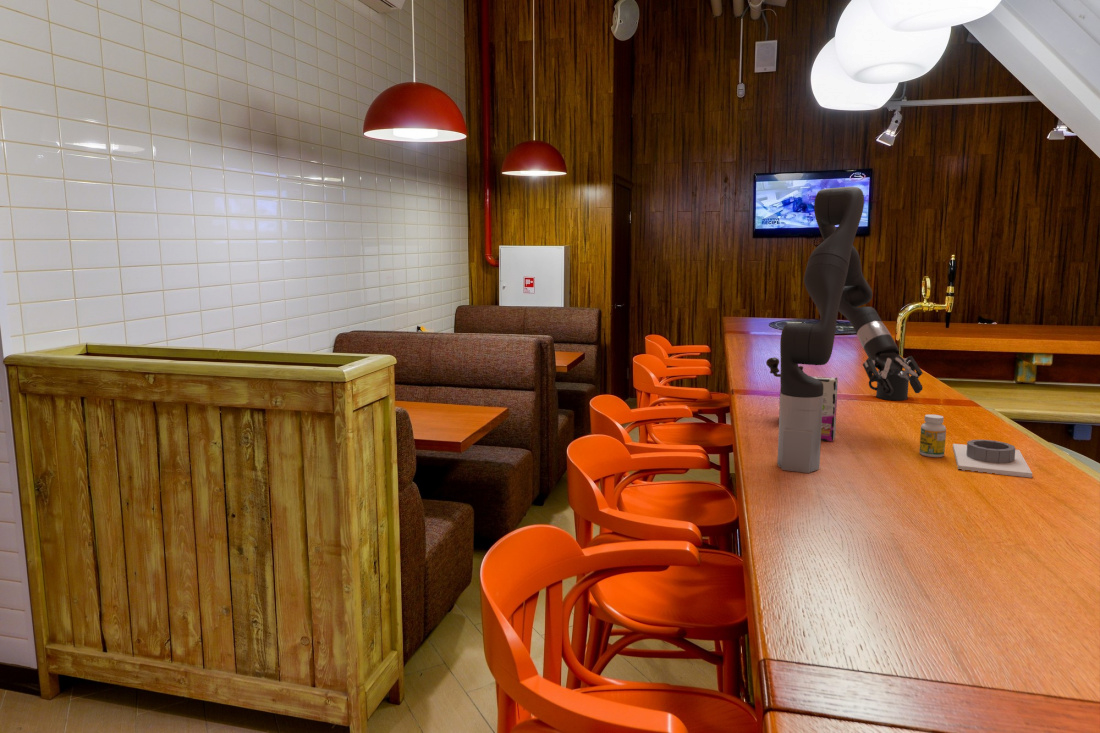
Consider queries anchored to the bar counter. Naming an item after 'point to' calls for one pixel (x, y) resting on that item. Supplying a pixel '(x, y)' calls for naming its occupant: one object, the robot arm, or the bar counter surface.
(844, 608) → the bar counter surface
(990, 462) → the socket plate
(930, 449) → the supplement bottle
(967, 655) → the bar counter surface
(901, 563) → the bar counter surface
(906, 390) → the mug
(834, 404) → the candy bar box
